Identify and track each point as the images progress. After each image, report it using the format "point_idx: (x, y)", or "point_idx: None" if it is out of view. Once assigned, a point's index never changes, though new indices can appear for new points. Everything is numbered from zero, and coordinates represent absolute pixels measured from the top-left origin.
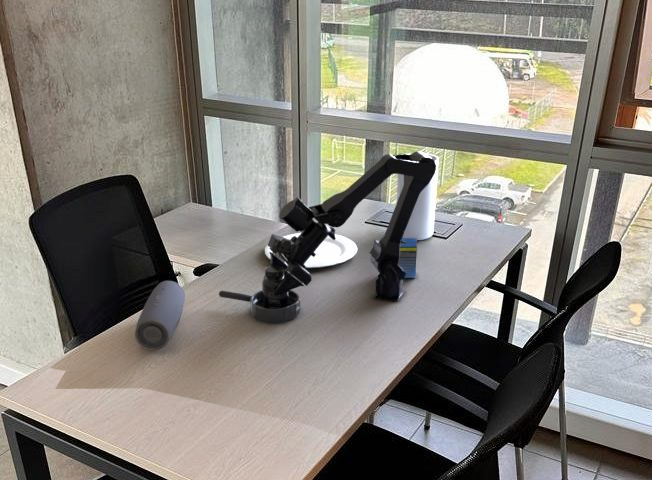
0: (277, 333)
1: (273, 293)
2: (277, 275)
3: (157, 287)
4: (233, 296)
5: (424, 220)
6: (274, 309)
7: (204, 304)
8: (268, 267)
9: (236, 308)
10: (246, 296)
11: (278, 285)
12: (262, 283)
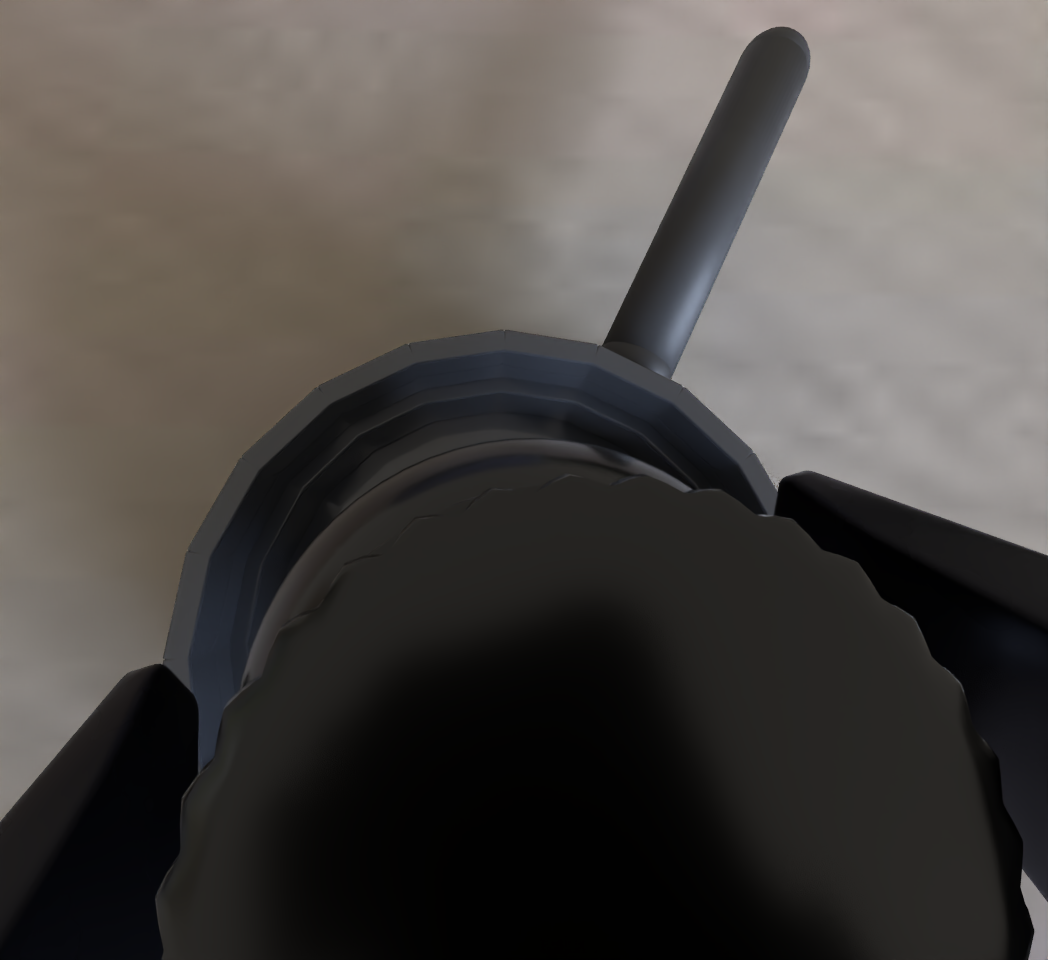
0: (42, 633)
1: (146, 667)
2: None
3: None
4: (688, 169)
5: None
6: (171, 633)
7: (723, 10)
8: (809, 626)
9: (628, 260)
10: (644, 295)
11: (31, 872)
12: (477, 443)
